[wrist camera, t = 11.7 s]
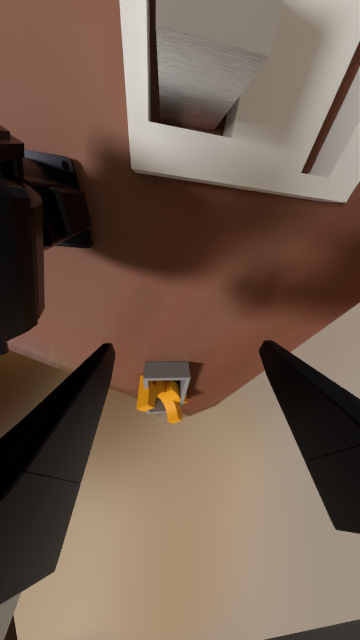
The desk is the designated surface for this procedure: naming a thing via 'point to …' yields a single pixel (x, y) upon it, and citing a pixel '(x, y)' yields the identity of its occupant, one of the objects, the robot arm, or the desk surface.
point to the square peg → (210, 55)
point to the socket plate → (261, 110)
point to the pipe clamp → (161, 398)
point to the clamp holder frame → (167, 372)
